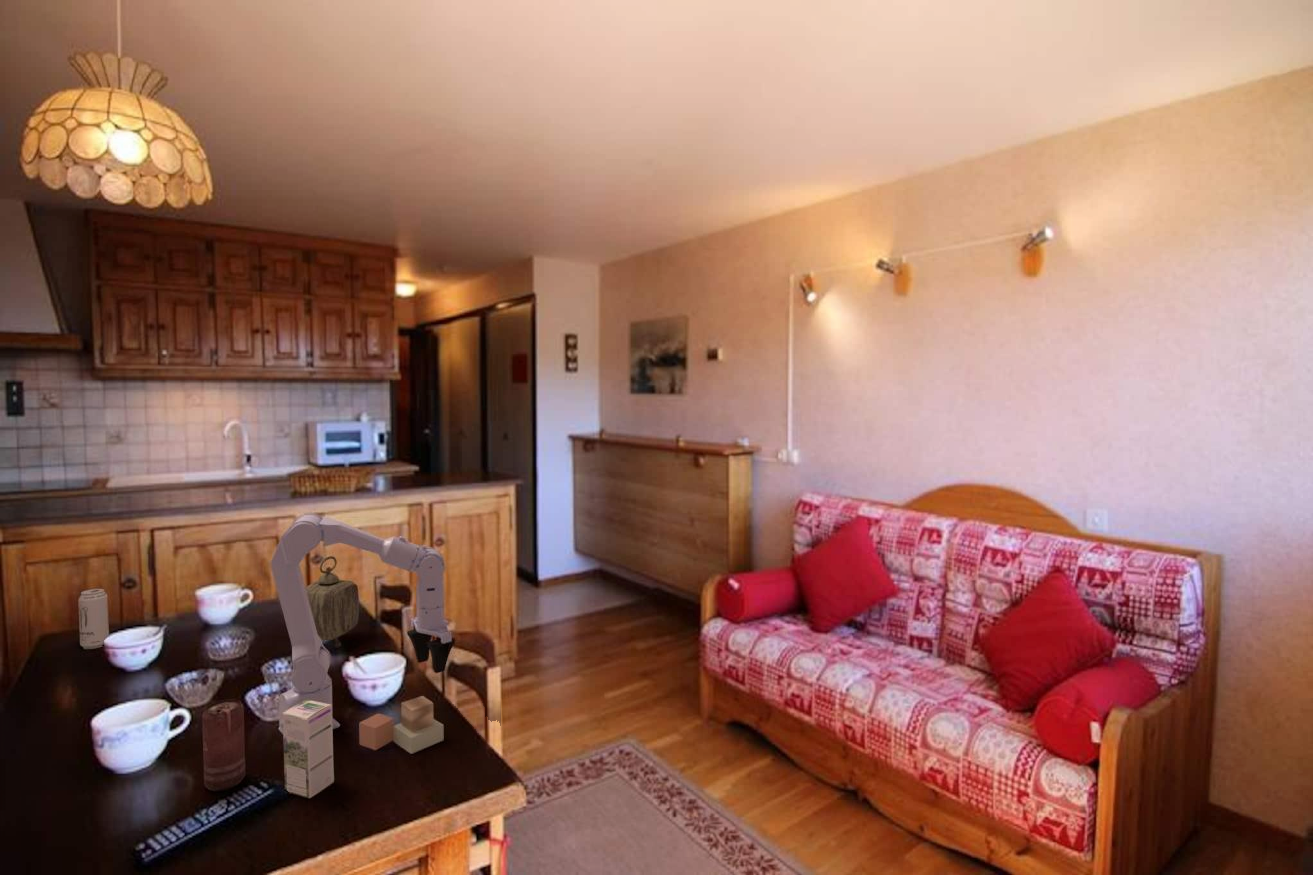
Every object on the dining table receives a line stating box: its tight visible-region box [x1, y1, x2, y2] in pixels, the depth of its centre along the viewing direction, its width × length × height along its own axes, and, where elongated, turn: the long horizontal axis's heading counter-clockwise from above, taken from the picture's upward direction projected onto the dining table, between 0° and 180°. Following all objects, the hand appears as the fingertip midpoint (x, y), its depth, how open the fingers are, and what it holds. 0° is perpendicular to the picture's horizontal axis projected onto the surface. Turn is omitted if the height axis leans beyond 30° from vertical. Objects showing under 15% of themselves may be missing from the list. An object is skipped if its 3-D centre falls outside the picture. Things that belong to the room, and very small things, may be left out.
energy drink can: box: [77, 588, 110, 650], centre depth 181 cm, size 6×6×15 cm
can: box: [201, 698, 246, 792], centre depth 118 cm, size 6×6×14 cm
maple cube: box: [400, 695, 434, 733], centre depth 134 cm, size 4×4×4 cm
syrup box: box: [282, 700, 335, 799], centre depth 117 cm, size 6×6×14 cm
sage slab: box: [392, 718, 445, 755], centre depth 134 cm, size 7×7×4 cm
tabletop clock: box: [305, 555, 360, 649], centre depth 181 cm, size 14×9×25 cm, turn 172°
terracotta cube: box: [358, 713, 395, 751], centre depth 133 cm, size 4×4×4 cm
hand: (431, 666), depth 146 cm, fingers open, 7 cm apart
